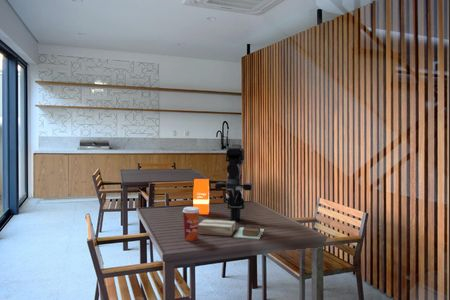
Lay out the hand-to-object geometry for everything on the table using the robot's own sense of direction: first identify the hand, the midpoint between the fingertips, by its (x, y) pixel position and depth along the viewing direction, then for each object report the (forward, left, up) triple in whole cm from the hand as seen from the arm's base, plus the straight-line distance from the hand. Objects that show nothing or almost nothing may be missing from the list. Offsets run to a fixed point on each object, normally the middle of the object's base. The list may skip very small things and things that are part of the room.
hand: (233, 203), depth 186 cm
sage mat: (+11, +10, -12) cm, 19 cm away
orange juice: (-25, -25, -12) cm, 37 cm away
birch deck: (+11, -6, -12) cm, 17 cm away
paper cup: (+26, -14, -12) cm, 32 cm away
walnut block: (+11, +11, -9) cm, 18 cm away
